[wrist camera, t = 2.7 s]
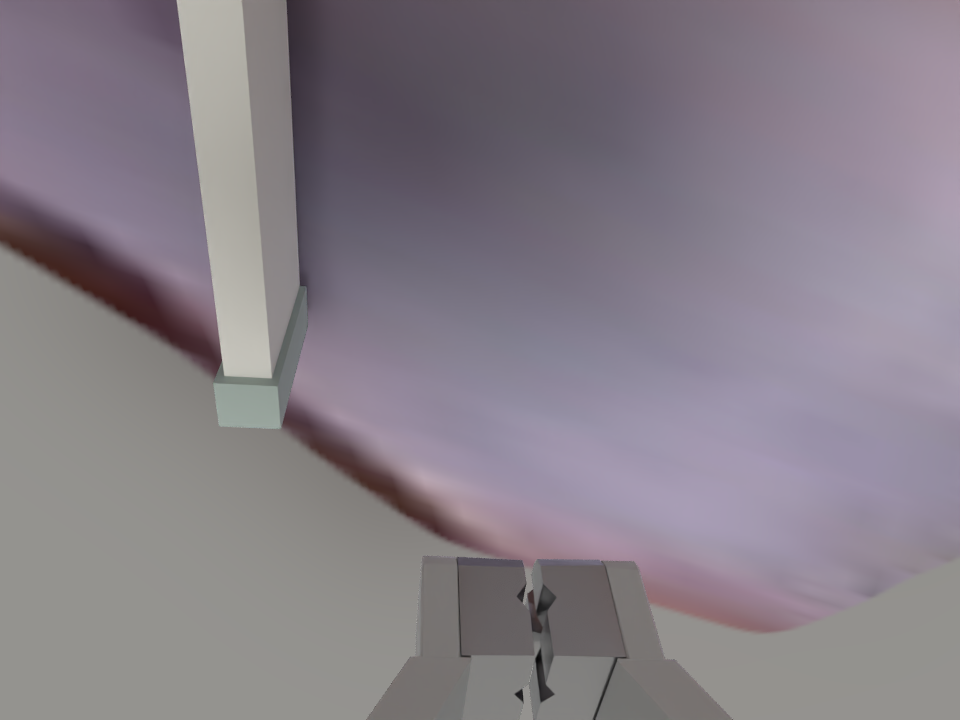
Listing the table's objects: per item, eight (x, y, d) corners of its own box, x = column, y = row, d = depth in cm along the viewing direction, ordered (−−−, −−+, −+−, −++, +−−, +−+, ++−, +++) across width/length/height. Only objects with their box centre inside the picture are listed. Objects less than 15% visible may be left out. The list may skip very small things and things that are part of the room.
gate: (194, -390, 18) (92, -487, 12) (279, -377, 18) (214, -467, 13) (257, 322, 29) (219, 426, 24) (307, 324, 29) (280, 428, 24)
